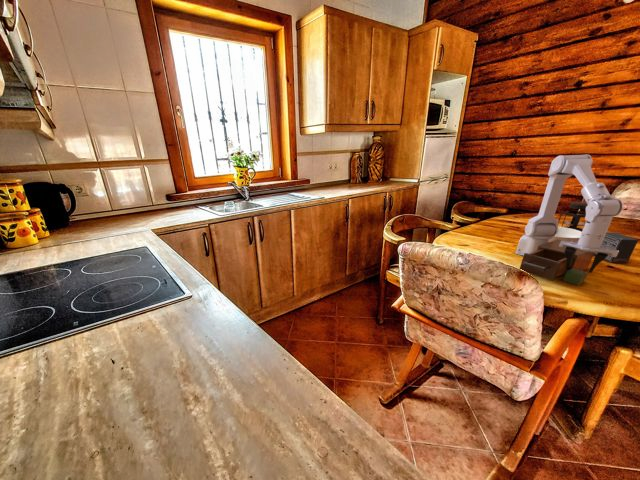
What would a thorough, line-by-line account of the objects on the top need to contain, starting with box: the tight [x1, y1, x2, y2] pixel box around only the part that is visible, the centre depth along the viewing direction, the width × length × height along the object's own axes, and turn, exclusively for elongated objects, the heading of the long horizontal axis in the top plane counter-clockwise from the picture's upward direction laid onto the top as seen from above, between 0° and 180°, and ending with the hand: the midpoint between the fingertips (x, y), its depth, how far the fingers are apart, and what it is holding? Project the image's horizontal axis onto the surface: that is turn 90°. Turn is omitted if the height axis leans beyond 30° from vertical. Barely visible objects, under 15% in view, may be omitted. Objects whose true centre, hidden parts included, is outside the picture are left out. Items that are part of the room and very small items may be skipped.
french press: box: [557, 196, 588, 232], centre depth 146 cm, size 12×9×23 cm
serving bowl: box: [548, 225, 582, 243], centre depth 138 cm, size 21×21×7 cm
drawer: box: [519, 249, 574, 282], centre depth 109 cm, size 18×11×7 cm, turn 115°
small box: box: [593, 231, 639, 264], centre depth 119 cm, size 11×6×10 cm, turn 168°
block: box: [562, 268, 589, 286], centre depth 103 cm, size 4×4×4 cm
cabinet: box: [537, 240, 595, 276], centre depth 114 cm, size 15×13×9 cm
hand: (579, 269), depth 102 cm, fingers open, 5 cm apart
